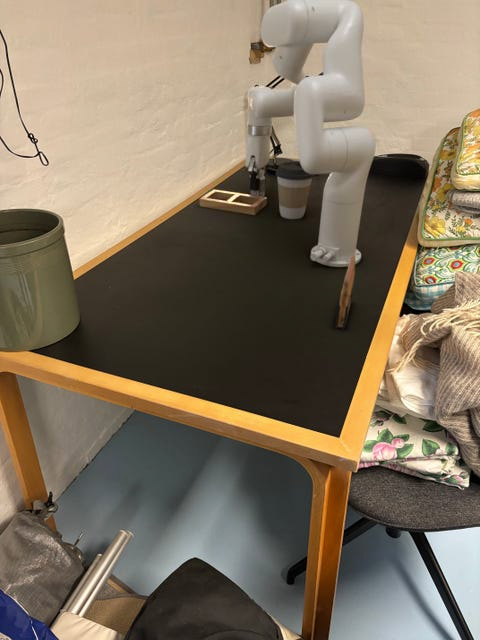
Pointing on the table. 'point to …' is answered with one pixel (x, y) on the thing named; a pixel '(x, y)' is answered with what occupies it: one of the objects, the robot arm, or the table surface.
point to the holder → (233, 202)
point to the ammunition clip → (346, 295)
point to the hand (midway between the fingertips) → (257, 187)
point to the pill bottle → (262, 185)
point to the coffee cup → (293, 189)
